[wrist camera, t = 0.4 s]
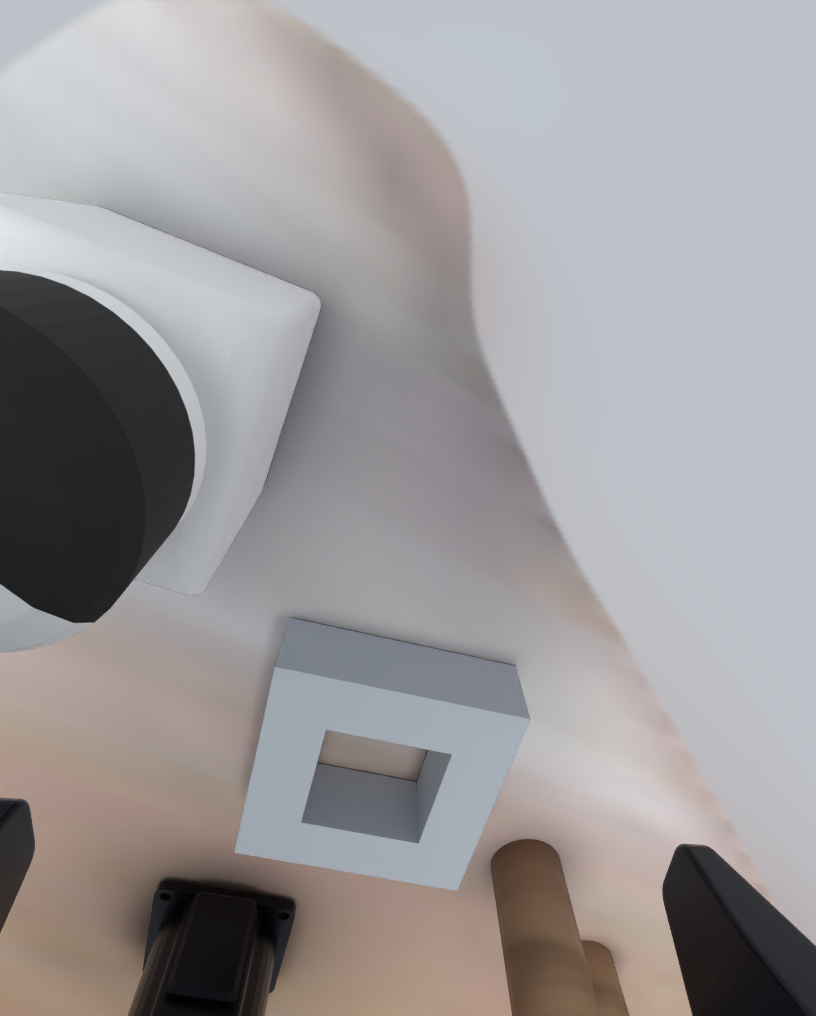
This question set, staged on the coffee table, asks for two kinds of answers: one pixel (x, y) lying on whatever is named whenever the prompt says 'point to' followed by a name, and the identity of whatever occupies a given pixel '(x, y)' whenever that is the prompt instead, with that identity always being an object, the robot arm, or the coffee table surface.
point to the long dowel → (540, 934)
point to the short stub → (604, 980)
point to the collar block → (387, 717)
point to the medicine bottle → (129, 409)
